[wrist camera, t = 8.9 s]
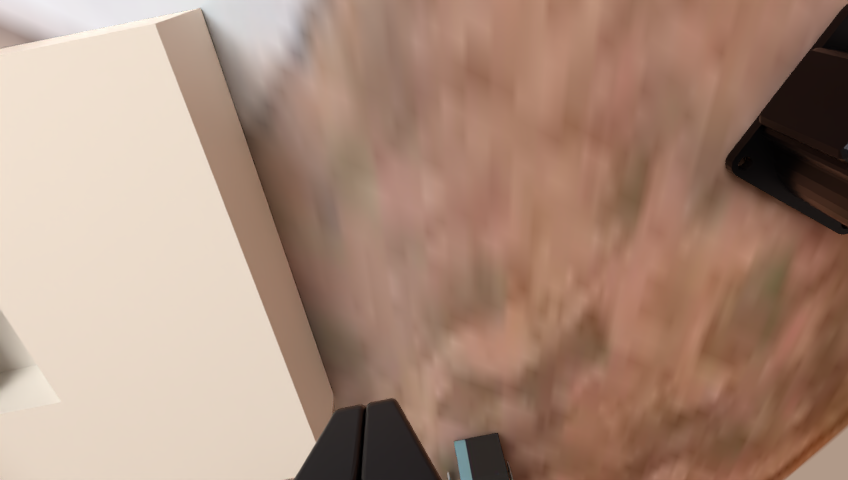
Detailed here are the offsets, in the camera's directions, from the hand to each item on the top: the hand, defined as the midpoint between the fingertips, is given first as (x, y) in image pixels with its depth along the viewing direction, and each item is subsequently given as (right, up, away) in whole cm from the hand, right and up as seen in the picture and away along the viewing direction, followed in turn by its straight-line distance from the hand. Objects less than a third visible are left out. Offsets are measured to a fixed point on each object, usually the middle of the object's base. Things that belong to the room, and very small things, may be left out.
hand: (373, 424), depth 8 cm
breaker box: (-14, +1, +13) cm, 20 cm away
